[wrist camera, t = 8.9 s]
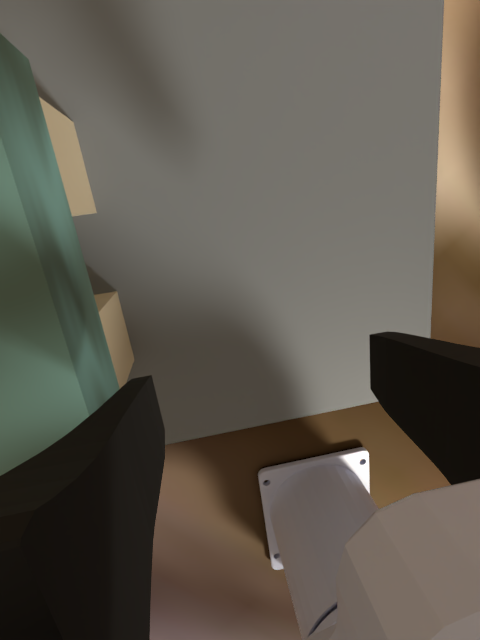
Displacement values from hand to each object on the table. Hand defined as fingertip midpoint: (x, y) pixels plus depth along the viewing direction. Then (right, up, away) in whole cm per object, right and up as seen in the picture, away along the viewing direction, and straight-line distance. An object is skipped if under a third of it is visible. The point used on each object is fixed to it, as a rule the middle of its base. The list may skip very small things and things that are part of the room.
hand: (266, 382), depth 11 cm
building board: (-3, +7, +8) cm, 11 cm away
